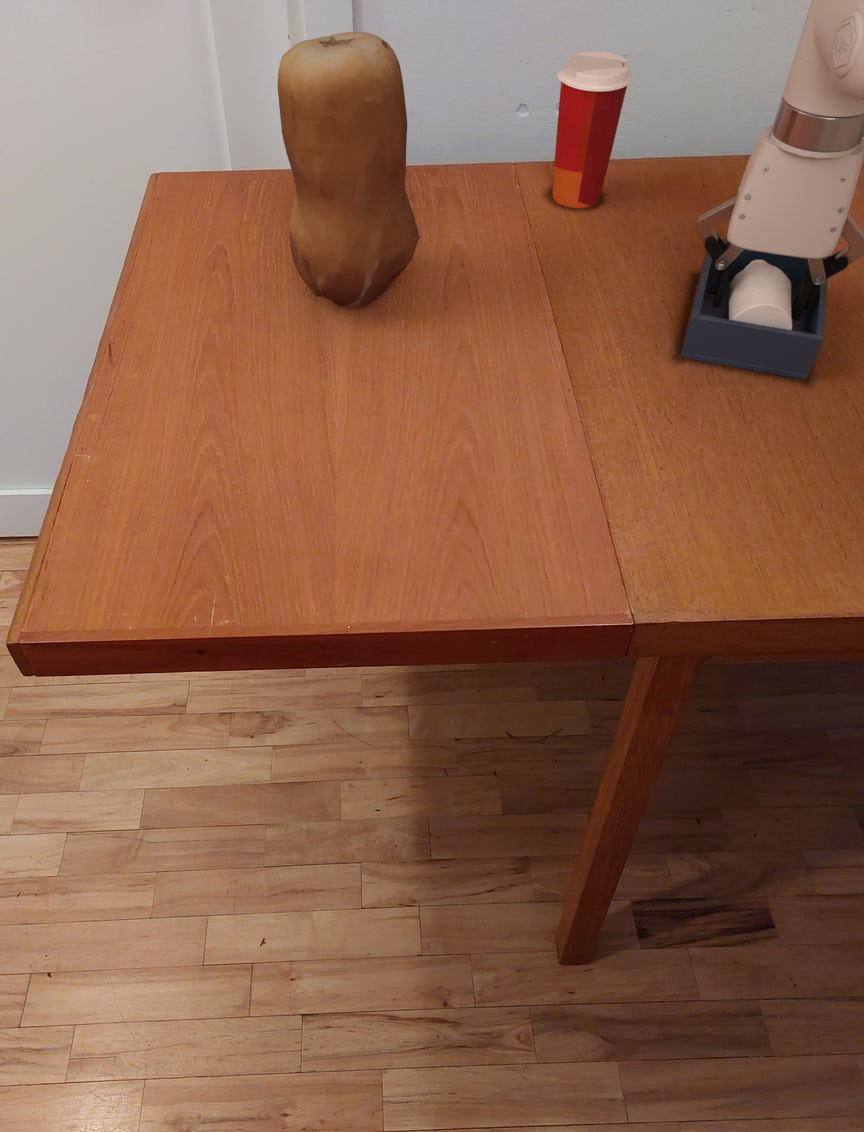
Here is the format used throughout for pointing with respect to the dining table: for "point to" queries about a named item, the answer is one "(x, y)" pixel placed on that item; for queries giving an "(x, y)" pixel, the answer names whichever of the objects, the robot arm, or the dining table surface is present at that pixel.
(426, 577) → the dining table surface
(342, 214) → the butternut squash
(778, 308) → the roll
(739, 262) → the tote
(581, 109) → the coffee cup
